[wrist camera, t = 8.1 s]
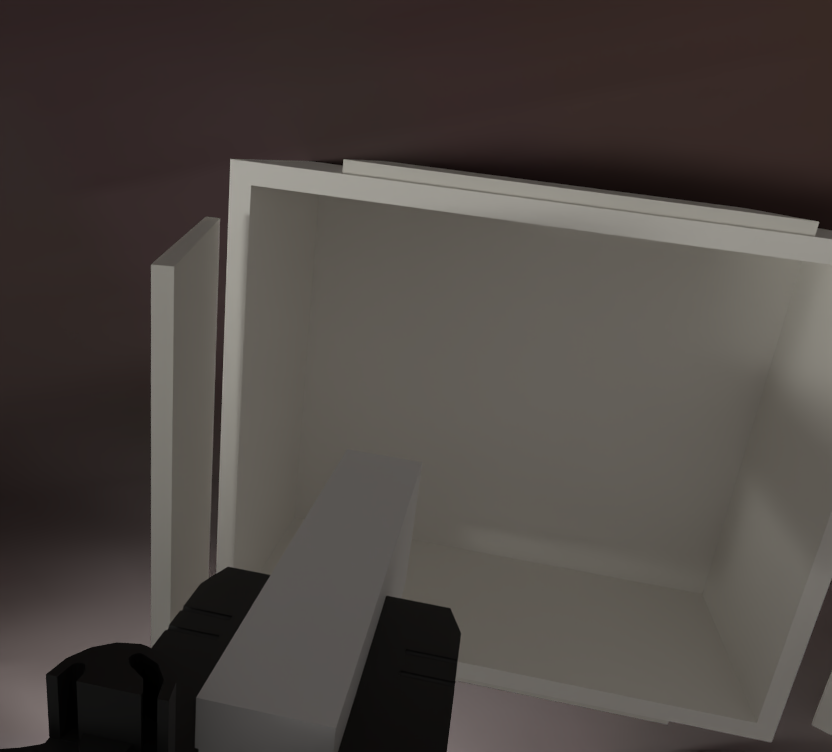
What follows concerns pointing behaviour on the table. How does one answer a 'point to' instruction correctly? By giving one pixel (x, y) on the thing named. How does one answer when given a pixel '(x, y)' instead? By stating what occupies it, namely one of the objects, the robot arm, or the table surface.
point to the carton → (547, 420)
